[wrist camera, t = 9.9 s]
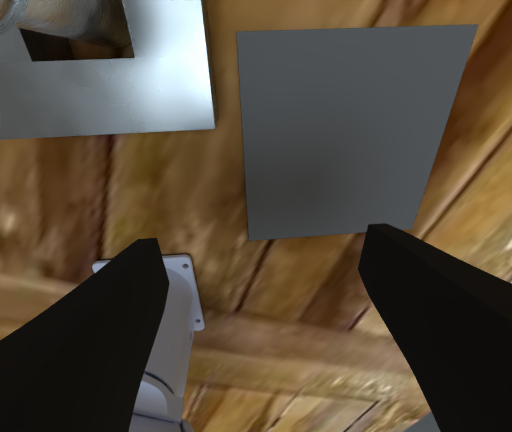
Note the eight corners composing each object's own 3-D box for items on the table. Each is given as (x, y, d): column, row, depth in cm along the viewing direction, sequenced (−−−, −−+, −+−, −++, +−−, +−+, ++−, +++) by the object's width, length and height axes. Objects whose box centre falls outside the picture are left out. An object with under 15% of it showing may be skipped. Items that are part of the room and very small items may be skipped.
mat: (409, 226, 22) (412, 228, 21) (248, 238, 21) (248, 240, 21) (472, 25, 15) (478, 24, 14) (236, 32, 14) (236, 31, 14)
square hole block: (218, 118, 16) (215, 128, 13) (42, 127, 16) (-5, 139, 13) (190, -152, 11) (174, -242, 8) (-82, -154, 10) (-216, -253, 7)
